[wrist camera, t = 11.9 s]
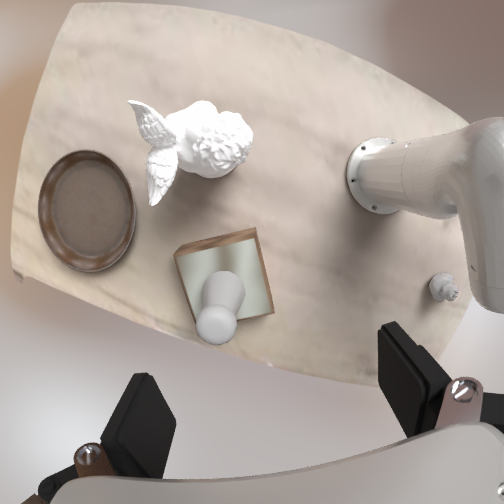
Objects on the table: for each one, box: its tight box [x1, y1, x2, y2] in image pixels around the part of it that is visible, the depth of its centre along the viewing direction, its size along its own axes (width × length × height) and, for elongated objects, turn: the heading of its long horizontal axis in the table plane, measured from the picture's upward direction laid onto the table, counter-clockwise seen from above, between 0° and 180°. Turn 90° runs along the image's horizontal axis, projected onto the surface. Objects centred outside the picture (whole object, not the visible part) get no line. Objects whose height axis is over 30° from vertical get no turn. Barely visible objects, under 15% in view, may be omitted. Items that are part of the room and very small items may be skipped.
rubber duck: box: [429, 272, 458, 301], centre depth 45 cm, size 5×7×8 cm
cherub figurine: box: [128, 101, 253, 206], centre depth 33 cm, size 12×12×22 cm
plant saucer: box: [38, 149, 136, 272], centre depth 44 cm, size 21×21×3 cm
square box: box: [173, 227, 274, 324], centre depth 45 cm, size 12×12×6 cm
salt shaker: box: [196, 271, 245, 345], centre depth 35 cm, size 6×6×13 cm
